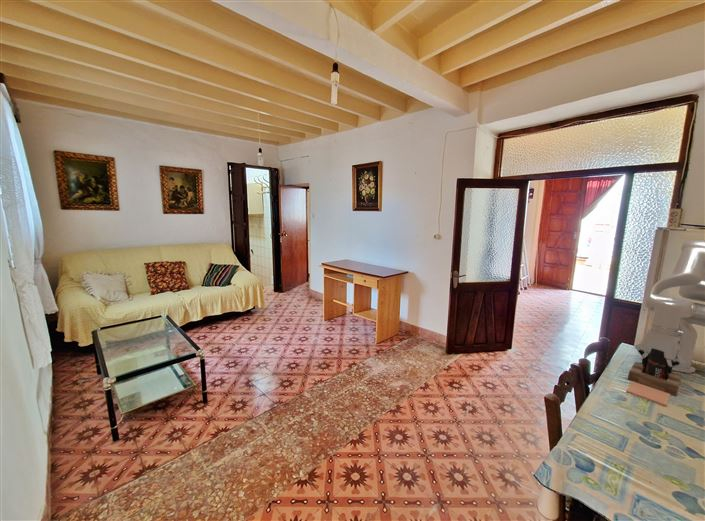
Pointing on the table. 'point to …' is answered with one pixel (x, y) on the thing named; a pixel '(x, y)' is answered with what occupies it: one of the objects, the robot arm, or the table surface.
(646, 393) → the tile
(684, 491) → the table surface
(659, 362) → the deodorant
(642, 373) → the holder block
